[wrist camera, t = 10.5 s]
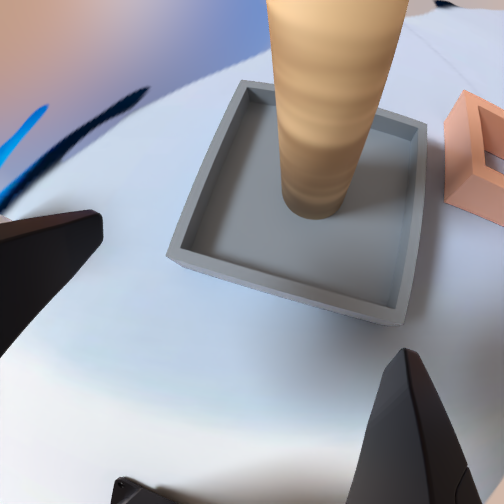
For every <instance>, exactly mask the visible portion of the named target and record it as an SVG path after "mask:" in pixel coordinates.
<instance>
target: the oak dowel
mask: <svg viewBox="0 0 504 504" xmlns="http://www.w3.org/2000/svg"><path fill="white" fill-rule="evenodd" d="M408 2H409V0H266V3H267V12H268V21H269V31H270V40H271V51H272V62H273V73H274V85H275V97H276V110H277V124H278V138H279V153H280V169H281V186H282V196H283V199H284V202H285V204H286V205H287V207H288V208H289V209H290V210H291V211H292V212H293V213H295V214H296V215H298V216H300V217H302V218H305V219H310V220H320V219H324V218H327V217H329V216H331V215H333V214H334V213H335V212H336V211H337V210H338V209H339V208H340V207H341V205H342V203H343V200H344V198H345V195H346V193H347V190H348V188H349V185H350V182H351V180H352V177H353V175H354V172H355V169H356V167H357V164H358V161H359V159H360V156H361V153H362V150H363V148H364V145H365V142H366V139H367V137H368V134H369V131H370V128H371V125H372V122H373V119H374V116H375V114H376V111H377V108H378V105H379V102H380V99H381V96H382V92H383V89H384V86H385V83H386V80H387V77H388V73H389V70H390V67H391V64H392V60H393V57H394V54H395V50H396V47H397V43H398V40H399V36H400V33H401V29H402V25H403V21H404V18H405V13H406V10H407V6H408Z"/></svg>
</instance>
